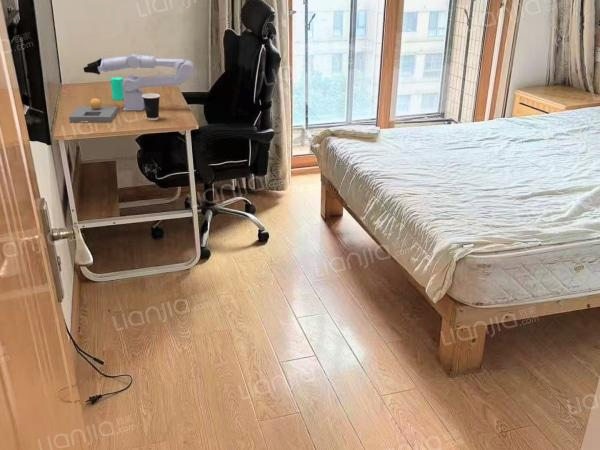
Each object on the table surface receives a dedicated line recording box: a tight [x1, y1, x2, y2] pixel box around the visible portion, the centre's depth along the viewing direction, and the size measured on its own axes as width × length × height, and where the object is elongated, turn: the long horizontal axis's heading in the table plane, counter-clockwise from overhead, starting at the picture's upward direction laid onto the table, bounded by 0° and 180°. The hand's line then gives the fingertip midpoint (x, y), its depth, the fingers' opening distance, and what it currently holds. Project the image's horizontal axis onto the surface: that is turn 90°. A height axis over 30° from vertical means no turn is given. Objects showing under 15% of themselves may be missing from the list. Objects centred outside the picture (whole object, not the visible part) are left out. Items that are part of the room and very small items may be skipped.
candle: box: [110, 75, 124, 101], centre depth 311 cm, size 6×6×12 cm
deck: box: [69, 106, 119, 123], centre depth 281 cm, size 18×18×2 cm
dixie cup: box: [142, 93, 161, 121], centre depth 280 cm, size 8×8×11 cm
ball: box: [89, 97, 102, 109], centre depth 284 cm, size 5×5×5 cm
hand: (85, 68), depth 287 cm, fingers open, 7 cm apart
